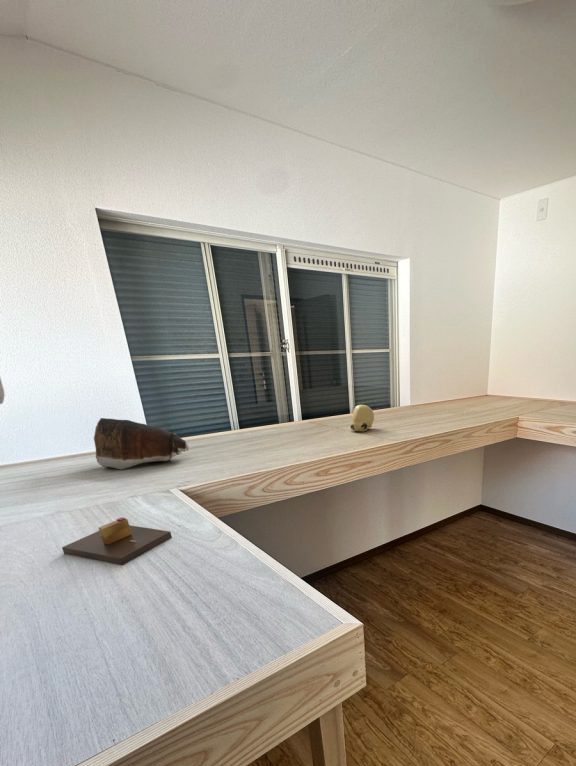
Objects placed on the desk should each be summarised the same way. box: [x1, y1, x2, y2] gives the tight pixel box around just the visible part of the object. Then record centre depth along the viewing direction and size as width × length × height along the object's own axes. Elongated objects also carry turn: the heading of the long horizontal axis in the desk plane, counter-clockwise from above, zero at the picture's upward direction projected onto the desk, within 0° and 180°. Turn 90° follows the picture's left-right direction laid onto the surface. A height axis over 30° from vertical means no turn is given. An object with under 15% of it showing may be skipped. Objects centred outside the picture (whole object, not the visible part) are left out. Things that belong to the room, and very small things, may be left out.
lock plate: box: [61, 524, 173, 566], centre depth 77 cm, size 14×11×3 cm
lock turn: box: [98, 516, 132, 545], centre depth 76 cm, size 5×1×3 cm, turn 155°
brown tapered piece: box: [93, 417, 190, 470], centre depth 133 cm, size 15×15×25 cm
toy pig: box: [350, 404, 375, 433], centre depth 176 cm, size 10×12×11 cm
